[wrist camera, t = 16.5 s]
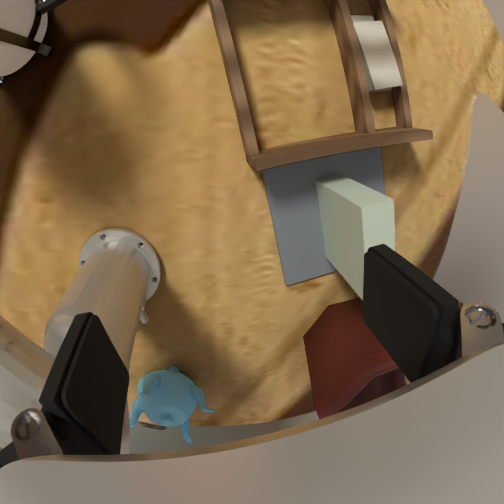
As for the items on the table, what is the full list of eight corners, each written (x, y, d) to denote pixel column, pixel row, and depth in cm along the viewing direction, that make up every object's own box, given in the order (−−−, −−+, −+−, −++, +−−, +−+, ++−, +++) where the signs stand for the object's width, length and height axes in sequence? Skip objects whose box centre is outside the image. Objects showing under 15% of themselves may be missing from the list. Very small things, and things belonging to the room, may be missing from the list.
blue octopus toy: (146, 348, 48) (139, 392, 39) (214, 370, 52) (219, 413, 43) (129, 389, 52) (123, 430, 42) (189, 407, 56) (191, 446, 47)
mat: (385, 253, 47) (386, 254, 47) (285, 283, 47) (286, 285, 46) (378, 146, 40) (380, 146, 39) (261, 169, 39) (262, 170, 38)
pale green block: (349, 249, 45) (393, 293, 34) (325, 256, 45) (365, 304, 33) (341, 174, 40) (393, 199, 28) (315, 180, 40) (361, 207, 28)
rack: (403, 133, 39) (432, 139, 33) (247, 162, 38) (257, 171, 32) (370, -15, 28) (395, -29, 22) (205, -10, 27) (206, -33, 20)
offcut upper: (394, 85, 35) (402, 85, 33) (367, 90, 35) (375, 90, 33) (374, 23, 30) (381, 20, 28) (345, 25, 30) (352, 22, 28)
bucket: (368, 371, 61) (418, 457, 38) (275, 383, 56) (309, 492, 34) (408, 277, 51) (494, 362, 29) (300, 278, 47) (374, 403, 24)
